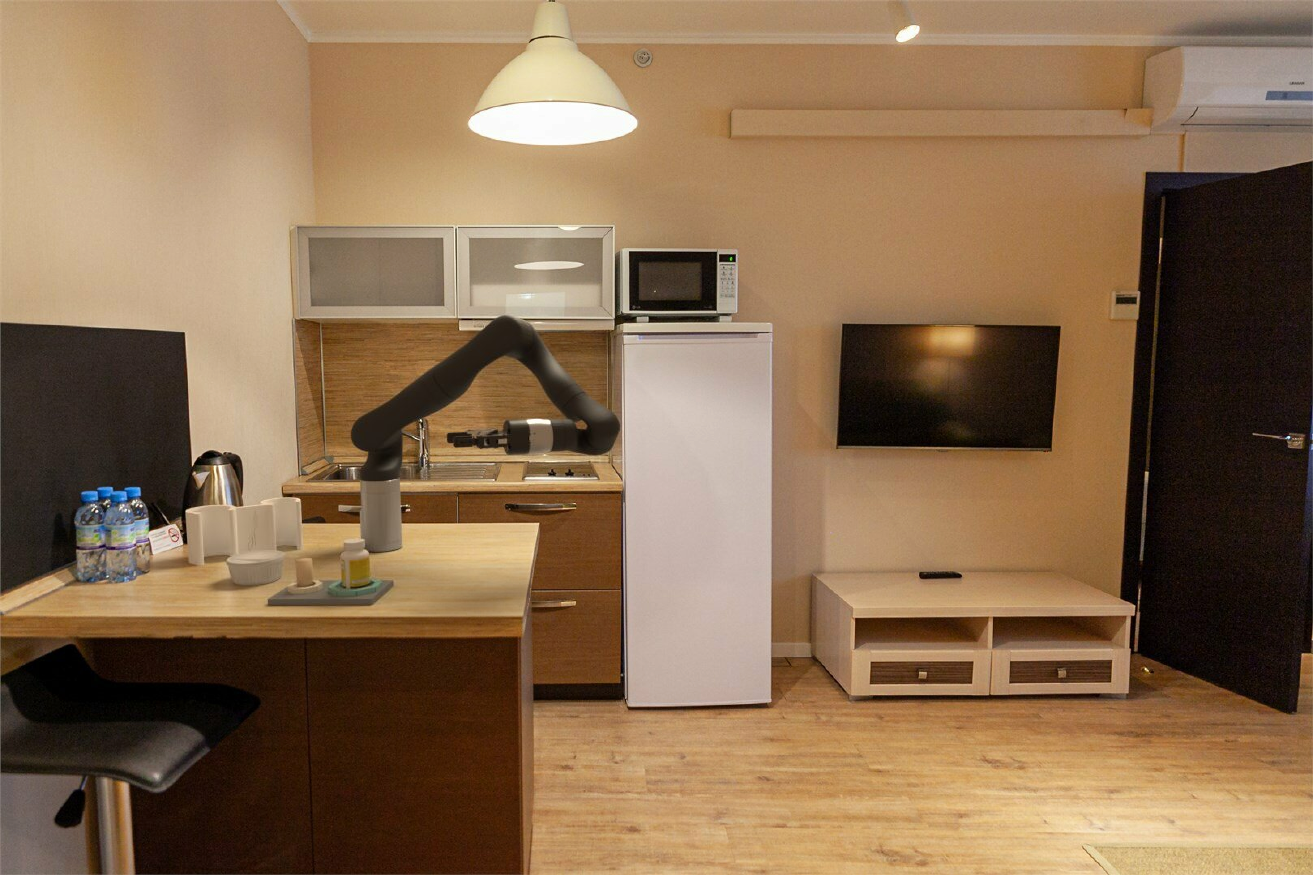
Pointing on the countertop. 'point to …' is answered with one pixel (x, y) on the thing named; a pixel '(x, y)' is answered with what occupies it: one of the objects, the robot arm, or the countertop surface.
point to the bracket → (243, 528)
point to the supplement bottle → (355, 565)
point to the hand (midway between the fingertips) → (450, 440)
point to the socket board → (326, 590)
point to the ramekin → (256, 567)
